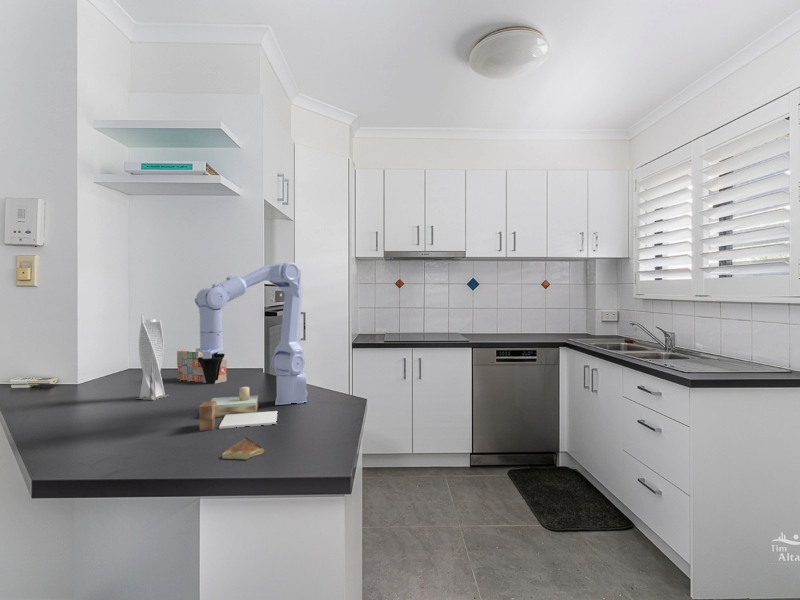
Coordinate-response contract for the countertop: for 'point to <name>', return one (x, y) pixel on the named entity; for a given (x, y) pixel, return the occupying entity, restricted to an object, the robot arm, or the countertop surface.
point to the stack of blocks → (196, 367)
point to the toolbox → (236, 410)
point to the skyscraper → (151, 359)
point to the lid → (237, 399)
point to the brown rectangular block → (207, 415)
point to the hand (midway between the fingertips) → (212, 381)
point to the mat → (249, 419)
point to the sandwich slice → (243, 450)
